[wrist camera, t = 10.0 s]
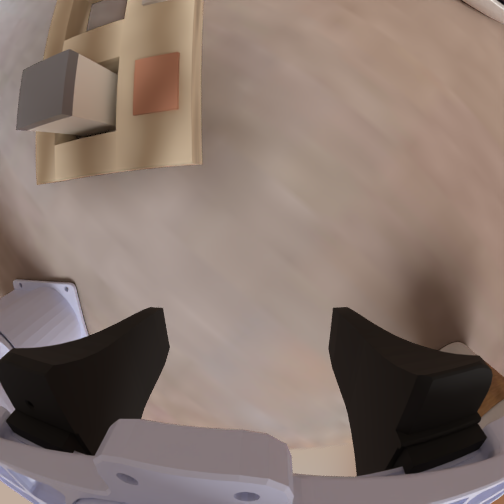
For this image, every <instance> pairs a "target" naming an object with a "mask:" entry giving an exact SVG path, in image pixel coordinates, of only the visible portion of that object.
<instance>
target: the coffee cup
mask: <svg viewBox="0 0 504 504" xmlns="http://www.w3.org/2000/svg"><path fill="white" fill-rule="evenodd" d="M439 351H443V352H448V353H454V354H464V355H477V354H475V353H474V352H473V351H472V350H471V349H470V348H468V347H467V346H466V345H465V344H463V343H460V342H454V343H451V344H449V345H447V346H445V347H443V348H442V349H441V350H439ZM485 363H486V362H485ZM486 364H487V365H488V366H489V367H490V368H491V369H492V374H493V376H492V382H491V386H490V388H489V391H488V393H487V395H486V397H485V399H484V400H483V402H482V404H481V406H480V408H479V410H478V411H477V412H478V413H479V415H480V416H481V421H480V422H479V423H478V424H479V426H480V427H481V429H483V428H484V427H485V426H486V425H487V424H489V423H490V422H493V421H495V420H497V419H499V418H501V417H503V416H504V377H503V376H502V375H501V374H500V373H498V372H497V371H496V370H495V369H494V368H492V367H491V366H490V365H489V364H488V363H486Z"/></svg>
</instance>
